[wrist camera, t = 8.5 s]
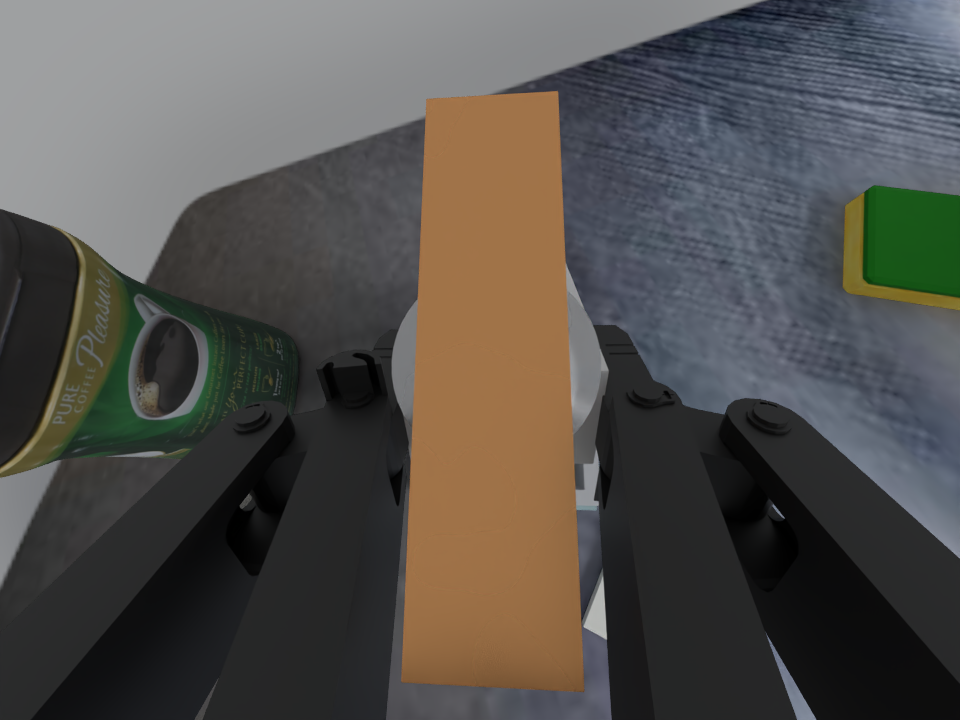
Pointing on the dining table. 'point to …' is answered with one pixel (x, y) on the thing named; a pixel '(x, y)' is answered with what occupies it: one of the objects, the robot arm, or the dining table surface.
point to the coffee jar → (117, 357)
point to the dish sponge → (903, 246)
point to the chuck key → (493, 404)
